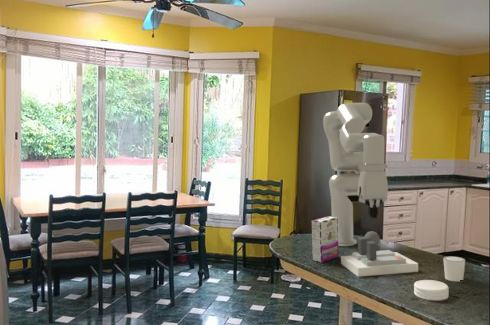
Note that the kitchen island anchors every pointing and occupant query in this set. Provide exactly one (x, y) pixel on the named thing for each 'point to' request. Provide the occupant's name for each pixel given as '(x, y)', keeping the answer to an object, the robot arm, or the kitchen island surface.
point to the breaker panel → (378, 268)
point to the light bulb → (372, 237)
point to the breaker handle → (371, 250)
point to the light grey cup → (454, 268)
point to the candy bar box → (325, 239)
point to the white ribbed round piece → (431, 290)
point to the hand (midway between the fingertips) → (372, 217)
